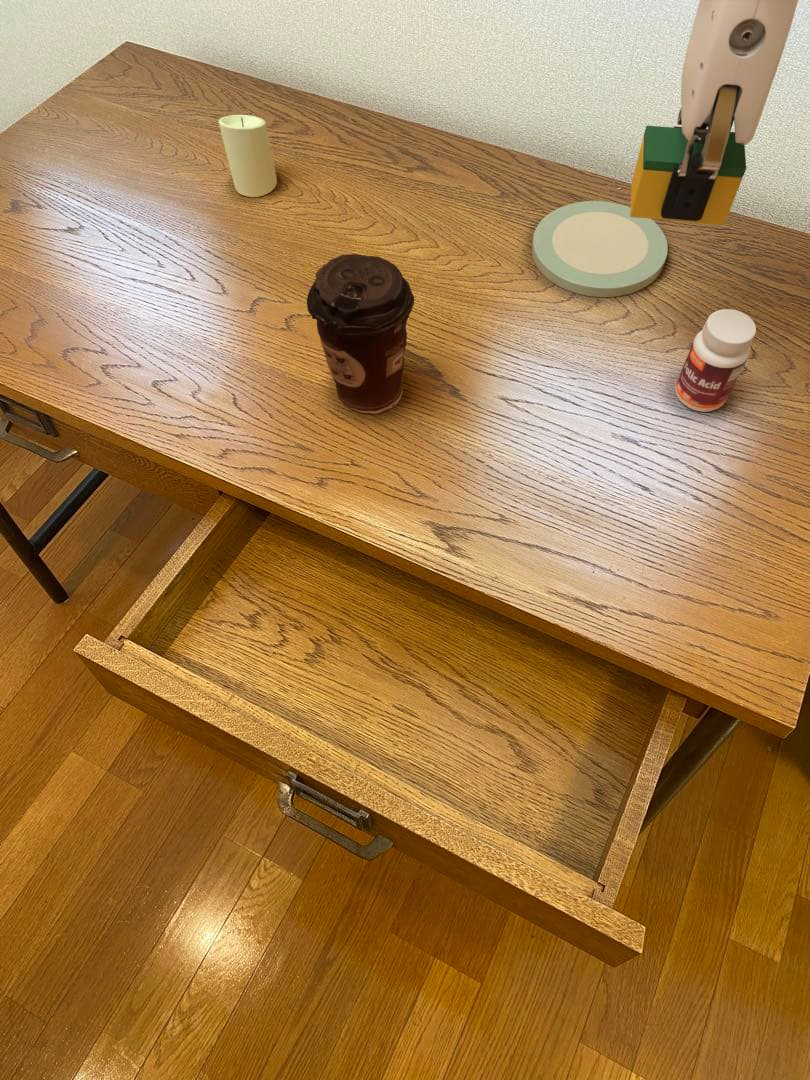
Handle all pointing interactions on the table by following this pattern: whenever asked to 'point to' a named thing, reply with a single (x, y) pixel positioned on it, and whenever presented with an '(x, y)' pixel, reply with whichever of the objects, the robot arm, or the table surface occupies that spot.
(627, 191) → the table surface
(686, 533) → the table surface
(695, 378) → the pill bottle
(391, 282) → the coffee cup
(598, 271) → the plate
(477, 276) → the table surface
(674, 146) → the sponge
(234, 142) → the candle
